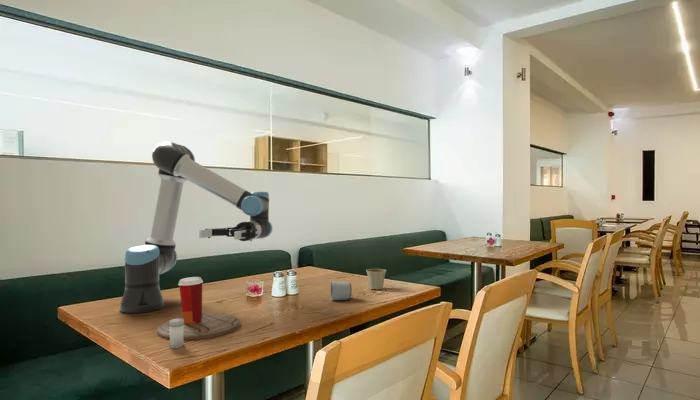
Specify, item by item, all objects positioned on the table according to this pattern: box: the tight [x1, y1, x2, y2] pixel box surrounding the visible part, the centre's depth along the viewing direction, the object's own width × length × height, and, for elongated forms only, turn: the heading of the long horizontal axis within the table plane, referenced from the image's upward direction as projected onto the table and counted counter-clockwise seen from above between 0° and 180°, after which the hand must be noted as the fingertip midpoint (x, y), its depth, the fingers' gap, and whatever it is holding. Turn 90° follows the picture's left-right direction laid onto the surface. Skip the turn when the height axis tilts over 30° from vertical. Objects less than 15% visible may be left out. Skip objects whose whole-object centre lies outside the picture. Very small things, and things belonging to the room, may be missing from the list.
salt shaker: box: [169, 318, 185, 349], centre depth 120 cm, size 4×4×7 cm
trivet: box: [156, 313, 241, 341], centre depth 138 cm, size 25×25×2 cm
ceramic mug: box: [330, 280, 353, 301], centre depth 177 cm, size 11×8×8 cm
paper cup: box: [177, 276, 204, 324], centre depth 140 cm, size 8×8×14 cm
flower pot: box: [365, 268, 387, 290], centre depth 197 cm, size 9×9×9 cm
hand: (217, 234), depth 147 cm, fingers open, 13 cm apart
